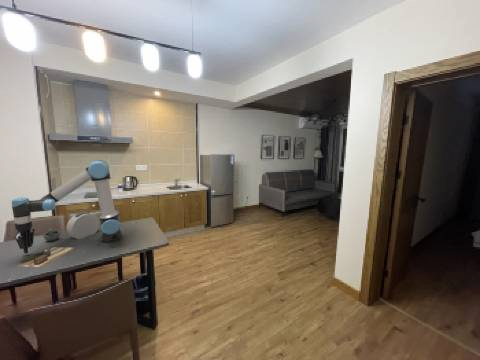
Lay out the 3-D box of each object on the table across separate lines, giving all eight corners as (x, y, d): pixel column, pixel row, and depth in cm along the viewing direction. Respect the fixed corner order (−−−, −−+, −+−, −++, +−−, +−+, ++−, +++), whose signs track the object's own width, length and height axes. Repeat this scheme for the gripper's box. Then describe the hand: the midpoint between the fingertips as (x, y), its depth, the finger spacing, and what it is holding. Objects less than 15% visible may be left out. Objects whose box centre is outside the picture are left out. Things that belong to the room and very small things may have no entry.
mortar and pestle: (45, 240, 164) (43, 226, 162) (61, 237, 169) (59, 223, 168) (43, 246, 155) (41, 230, 153) (60, 242, 161) (58, 228, 159)
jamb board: (75, 249, 151) (75, 243, 150) (43, 268, 126) (42, 261, 126) (54, 248, 151) (53, 242, 151) (17, 268, 126) (16, 260, 126)
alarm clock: (94, 230, 186) (92, 209, 183) (99, 231, 183) (98, 210, 181) (67, 239, 166) (64, 215, 164) (73, 241, 164) (70, 217, 161)
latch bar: (50, 253, 142) (49, 247, 141) (51, 255, 139) (50, 249, 139) (22, 260, 132) (22, 254, 132) (23, 262, 130) (22, 257, 129)
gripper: (24, 219, 136) (29, 252, 140) (7, 226, 124) (12, 262, 128) (37, 218, 138) (42, 251, 142) (21, 225, 125) (27, 261, 129)
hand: (28, 256), depth 135 cm, fingers closed
